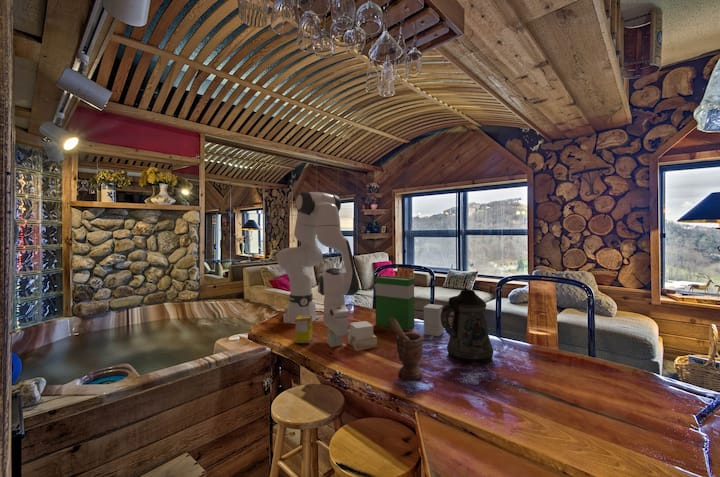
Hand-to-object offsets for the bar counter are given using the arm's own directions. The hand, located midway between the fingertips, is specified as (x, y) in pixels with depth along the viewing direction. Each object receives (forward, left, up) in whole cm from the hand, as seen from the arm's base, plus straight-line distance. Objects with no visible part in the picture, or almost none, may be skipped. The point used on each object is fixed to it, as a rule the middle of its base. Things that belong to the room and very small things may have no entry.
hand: (334, 340), depth 134 cm
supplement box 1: (-8, -11, -2) cm, 14 cm away
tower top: (+6, +10, +2) cm, 12 cm away
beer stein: (+35, +40, -2) cm, 53 cm away
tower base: (+6, +10, -2) cm, 12 cm away
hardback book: (-11, +36, -2) cm, 38 cm away
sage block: (0, 0, -2) cm, 2 cm away
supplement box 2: (+7, +46, -2) cm, 47 cm away
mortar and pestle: (+38, +11, -2) cm, 40 cm away
